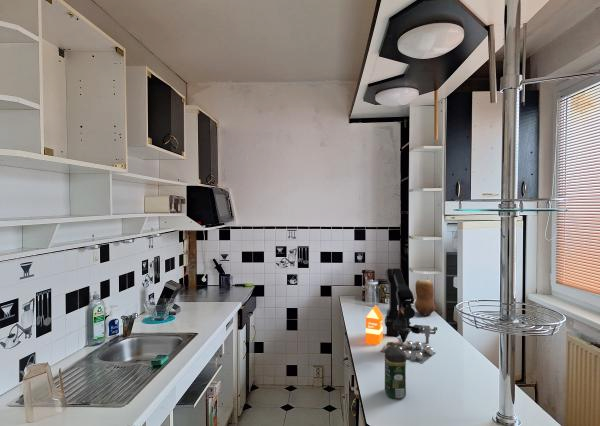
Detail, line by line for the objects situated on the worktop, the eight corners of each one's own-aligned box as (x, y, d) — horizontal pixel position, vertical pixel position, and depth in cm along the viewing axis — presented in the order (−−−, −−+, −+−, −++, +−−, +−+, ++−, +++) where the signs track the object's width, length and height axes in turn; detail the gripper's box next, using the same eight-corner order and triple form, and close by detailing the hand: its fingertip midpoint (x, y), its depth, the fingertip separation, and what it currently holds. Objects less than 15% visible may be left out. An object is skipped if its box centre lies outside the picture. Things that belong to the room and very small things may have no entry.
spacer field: (382, 352, 198) (382, 345, 198) (398, 342, 211) (398, 336, 211) (422, 363, 184) (422, 356, 183) (436, 352, 197) (436, 346, 197)
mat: (379, 352, 198) (379, 351, 198) (395, 343, 212) (395, 342, 212) (422, 365, 183) (422, 363, 183) (436, 353, 197) (436, 352, 197)
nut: (385, 348, 202) (385, 344, 202) (388, 345, 206) (388, 341, 206) (393, 350, 200) (393, 345, 200) (396, 347, 204) (396, 342, 204)
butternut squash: (418, 311, 274) (419, 276, 274) (437, 314, 267) (438, 278, 266) (412, 315, 263) (412, 279, 262) (431, 319, 255) (432, 282, 255)
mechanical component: (437, 345, 208) (437, 327, 208) (417, 344, 210) (418, 326, 210) (436, 343, 211) (436, 326, 211) (417, 342, 213) (417, 324, 213)
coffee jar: (382, 388, 161) (382, 344, 160) (401, 388, 161) (401, 344, 160) (388, 400, 151) (388, 353, 150) (408, 400, 151) (408, 353, 150)
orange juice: (382, 340, 216) (383, 305, 216) (379, 345, 208) (379, 309, 208) (369, 338, 220) (369, 303, 219) (365, 343, 212) (365, 307, 211)
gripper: (380, 312, 199) (380, 342, 199) (414, 320, 187) (414, 351, 187) (390, 308, 207) (390, 336, 208) (423, 315, 195) (423, 345, 196)
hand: (403, 342), depth 199 cm, fingers closed
